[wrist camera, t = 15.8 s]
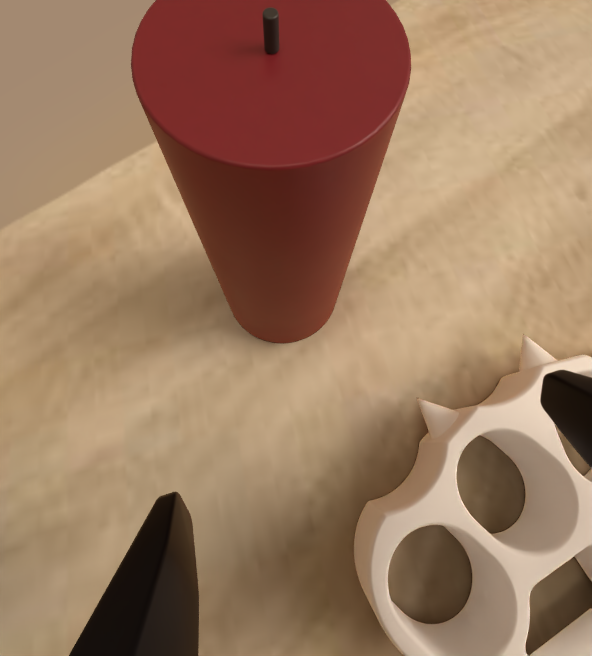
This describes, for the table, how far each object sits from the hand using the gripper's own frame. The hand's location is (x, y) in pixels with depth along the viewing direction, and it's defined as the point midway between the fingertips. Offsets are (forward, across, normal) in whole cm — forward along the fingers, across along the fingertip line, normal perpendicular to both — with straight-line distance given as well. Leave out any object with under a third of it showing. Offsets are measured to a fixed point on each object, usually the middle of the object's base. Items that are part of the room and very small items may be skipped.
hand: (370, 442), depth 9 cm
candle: (+12, 0, +1) cm, 12 cm away
